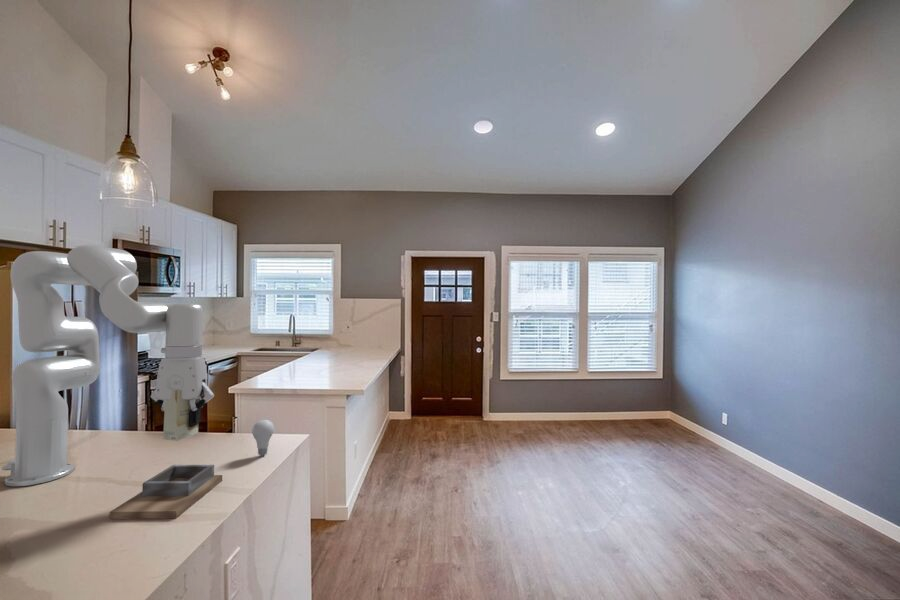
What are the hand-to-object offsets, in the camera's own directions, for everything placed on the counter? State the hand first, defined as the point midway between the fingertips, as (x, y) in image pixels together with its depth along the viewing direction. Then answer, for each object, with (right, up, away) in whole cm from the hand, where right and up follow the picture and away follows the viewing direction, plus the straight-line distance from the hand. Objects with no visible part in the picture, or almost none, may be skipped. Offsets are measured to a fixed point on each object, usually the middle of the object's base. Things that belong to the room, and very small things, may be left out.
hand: (182, 424), depth 95 cm
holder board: (0, -16, -3) cm, 17 cm away
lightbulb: (+9, -17, +23) cm, 30 cm away
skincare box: (0, -3, 0) cm, 3 cm away
